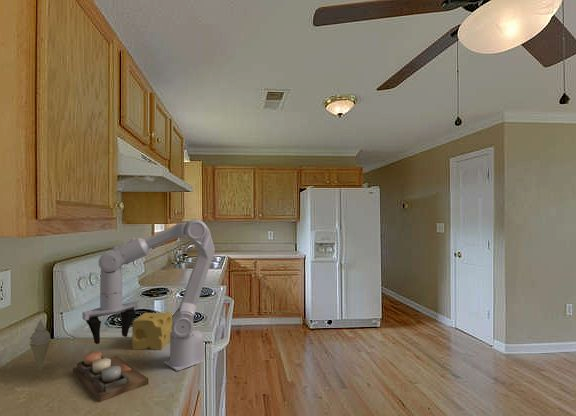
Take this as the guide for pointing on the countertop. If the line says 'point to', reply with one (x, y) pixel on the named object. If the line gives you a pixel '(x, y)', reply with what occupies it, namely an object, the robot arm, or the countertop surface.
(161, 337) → the cheese
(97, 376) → the button panel
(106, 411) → the countertop surface
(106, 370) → the slate button
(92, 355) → the terracotta button
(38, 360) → the ice cream cone
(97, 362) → the cream button
